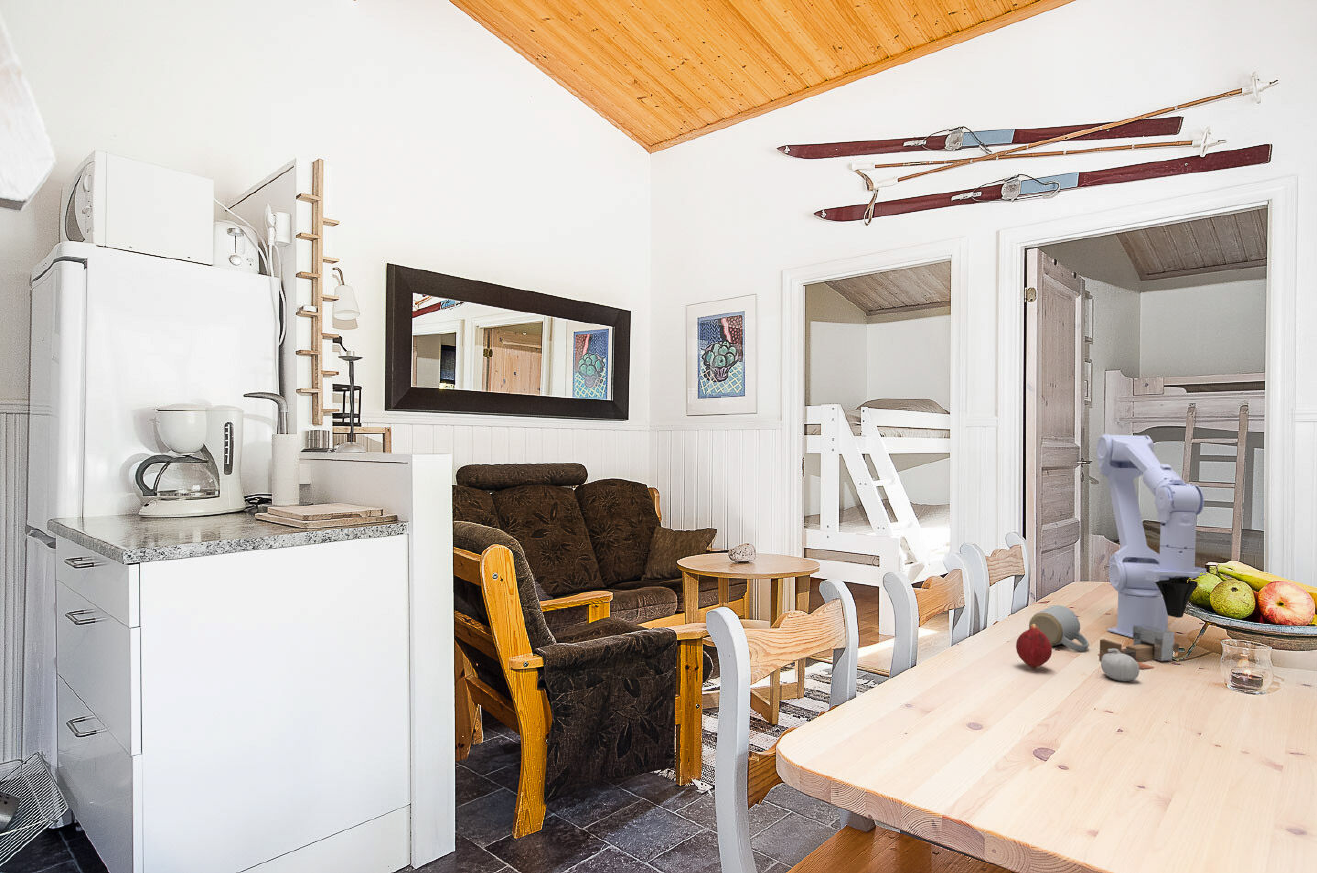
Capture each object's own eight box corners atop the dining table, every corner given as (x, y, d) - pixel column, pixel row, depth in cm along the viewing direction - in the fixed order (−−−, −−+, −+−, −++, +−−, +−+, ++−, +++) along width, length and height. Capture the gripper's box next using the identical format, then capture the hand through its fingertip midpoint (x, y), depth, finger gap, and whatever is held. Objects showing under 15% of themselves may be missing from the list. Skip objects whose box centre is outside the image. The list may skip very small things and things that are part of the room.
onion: (1057, 674, 134) (1058, 629, 134) (1024, 673, 134) (1025, 628, 134) (1041, 664, 140) (1043, 620, 140) (1010, 663, 140) (1011, 619, 140)
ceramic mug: (1025, 642, 155) (1027, 606, 154) (1043, 636, 160) (1044, 601, 159) (1078, 656, 147) (1080, 618, 146) (1095, 649, 152) (1097, 612, 151)
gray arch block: (1142, 650, 149) (1143, 624, 149) (1173, 659, 144) (1174, 632, 144) (1132, 652, 148) (1133, 625, 148) (1162, 661, 143) (1163, 633, 143)
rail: (1151, 648, 152) (1151, 629, 152) (1197, 662, 144) (1197, 641, 144) (1086, 656, 146) (1087, 635, 146) (1131, 671, 137) (1131, 649, 137)
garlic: (1094, 677, 133) (1095, 648, 133) (1105, 672, 137) (1106, 643, 137) (1132, 687, 129) (1134, 656, 128) (1143, 681, 132) (1144, 651, 132)
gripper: (1172, 551, 141) (1170, 624, 142) (1223, 548, 147) (1221, 618, 147) (1136, 545, 148) (1134, 615, 148) (1186, 543, 153) (1184, 610, 154)
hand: (1175, 616), depth 148 cm, fingers closed
